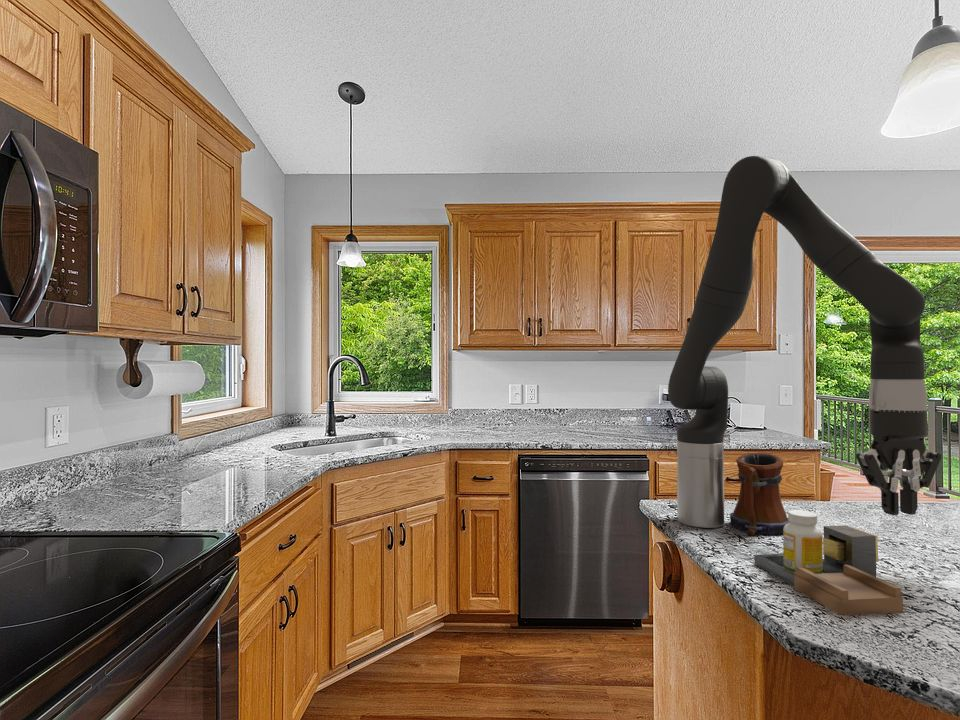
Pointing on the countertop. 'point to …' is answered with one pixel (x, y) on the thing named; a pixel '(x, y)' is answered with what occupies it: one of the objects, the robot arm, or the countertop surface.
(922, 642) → the countertop surface
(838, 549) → the tan boxy piece
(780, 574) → the socket collar
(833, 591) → the wooden tray
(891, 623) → the countertop surface
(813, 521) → the supplement bottle
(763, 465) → the mug
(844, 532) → the block
